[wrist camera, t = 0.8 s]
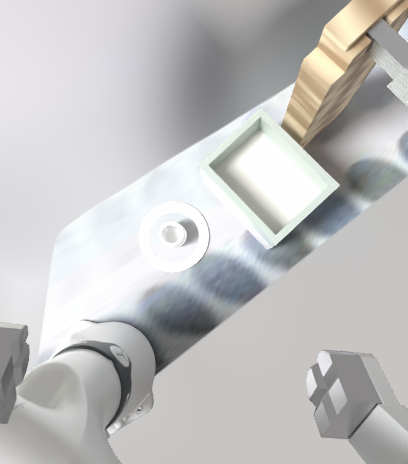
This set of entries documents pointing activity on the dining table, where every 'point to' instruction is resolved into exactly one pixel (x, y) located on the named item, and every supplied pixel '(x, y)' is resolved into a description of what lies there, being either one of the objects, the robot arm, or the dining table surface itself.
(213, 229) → the dining table surface
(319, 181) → the raised tray
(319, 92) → the tan wooden tall block
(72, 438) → the robot arm
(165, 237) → the candle holder
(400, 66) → the bar
